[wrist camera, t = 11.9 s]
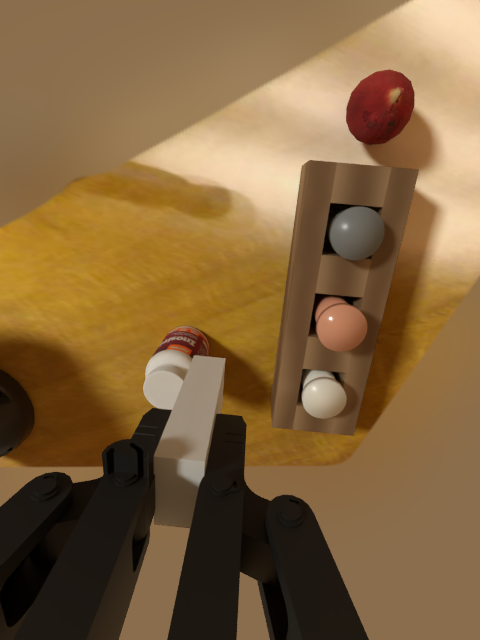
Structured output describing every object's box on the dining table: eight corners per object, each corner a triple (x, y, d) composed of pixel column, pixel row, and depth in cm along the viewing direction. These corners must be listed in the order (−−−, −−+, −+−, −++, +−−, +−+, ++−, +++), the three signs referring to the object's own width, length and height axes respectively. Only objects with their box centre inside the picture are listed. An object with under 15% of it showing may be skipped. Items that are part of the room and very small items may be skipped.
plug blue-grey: (313, 246, 39) (327, 257, 32) (320, 202, 38) (336, 204, 30) (354, 249, 39) (378, 262, 32) (363, 206, 37) (390, 209, 30)
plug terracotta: (303, 321, 41) (314, 349, 34) (309, 283, 40) (321, 303, 32) (342, 325, 41) (361, 353, 34) (350, 287, 40) (372, 308, 32)
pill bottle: (203, 320, 43) (186, 359, 33) (215, 362, 45) (202, 411, 35) (158, 329, 44) (127, 370, 34) (171, 370, 46) (146, 420, 36)
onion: (394, 145, 35) (431, 131, 28) (339, 152, 36) (360, 141, 28) (396, 80, 33) (436, 46, 26) (338, 89, 34) (360, 59, 26)
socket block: (270, 399, 47) (272, 427, 41) (301, 165, 37) (310, 160, 31) (342, 406, 47) (353, 435, 41) (394, 173, 36) (419, 169, 31)
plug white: (292, 380, 46) (299, 416, 38) (297, 348, 44) (306, 379, 36) (328, 383, 45) (342, 420, 38) (334, 351, 44) (350, 383, 36)
